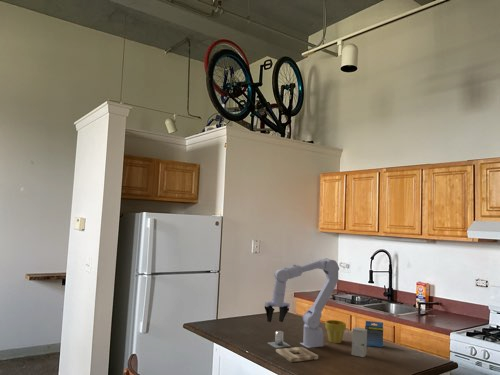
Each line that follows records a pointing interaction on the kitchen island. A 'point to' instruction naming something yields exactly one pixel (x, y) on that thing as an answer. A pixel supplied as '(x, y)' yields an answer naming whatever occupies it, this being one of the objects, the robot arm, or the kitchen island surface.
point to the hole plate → (298, 357)
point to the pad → (278, 345)
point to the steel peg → (279, 338)
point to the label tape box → (374, 333)
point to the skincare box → (359, 341)
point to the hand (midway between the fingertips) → (275, 321)
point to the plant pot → (335, 330)
